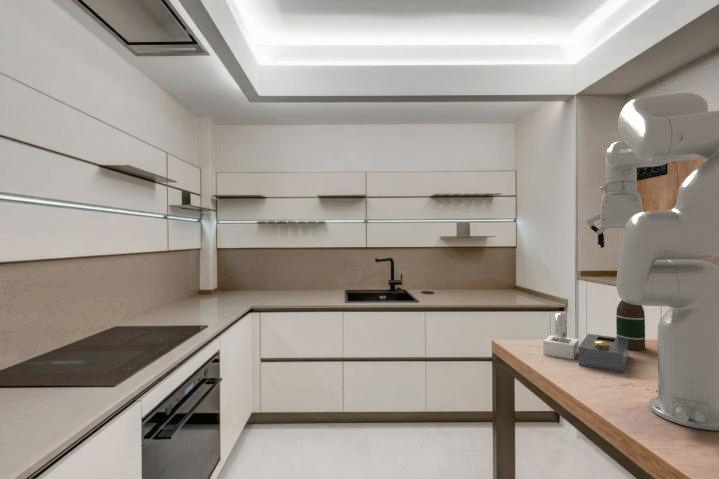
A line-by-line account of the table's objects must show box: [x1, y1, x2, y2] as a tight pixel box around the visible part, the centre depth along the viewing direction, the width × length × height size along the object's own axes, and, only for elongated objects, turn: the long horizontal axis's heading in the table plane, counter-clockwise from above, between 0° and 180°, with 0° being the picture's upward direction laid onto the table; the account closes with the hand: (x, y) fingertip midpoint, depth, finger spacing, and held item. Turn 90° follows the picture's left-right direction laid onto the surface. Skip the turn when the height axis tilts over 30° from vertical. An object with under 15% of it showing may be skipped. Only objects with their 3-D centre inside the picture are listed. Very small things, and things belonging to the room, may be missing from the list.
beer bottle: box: [615, 299, 646, 352], centre depth 116 cm, size 8×8×24 cm
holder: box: [542, 334, 580, 360], centre depth 112 cm, size 8×8×5 cm
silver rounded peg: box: [554, 312, 568, 343], centre depth 112 cm, size 3×3×12 cm
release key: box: [594, 340, 610, 349], centre depth 102 cm, size 4×4×6 cm
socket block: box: [578, 333, 629, 374], centre depth 105 cm, size 17×10×6 cm, turn 140°
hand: (621, 247), depth 109 cm, fingers open, 9 cm apart
